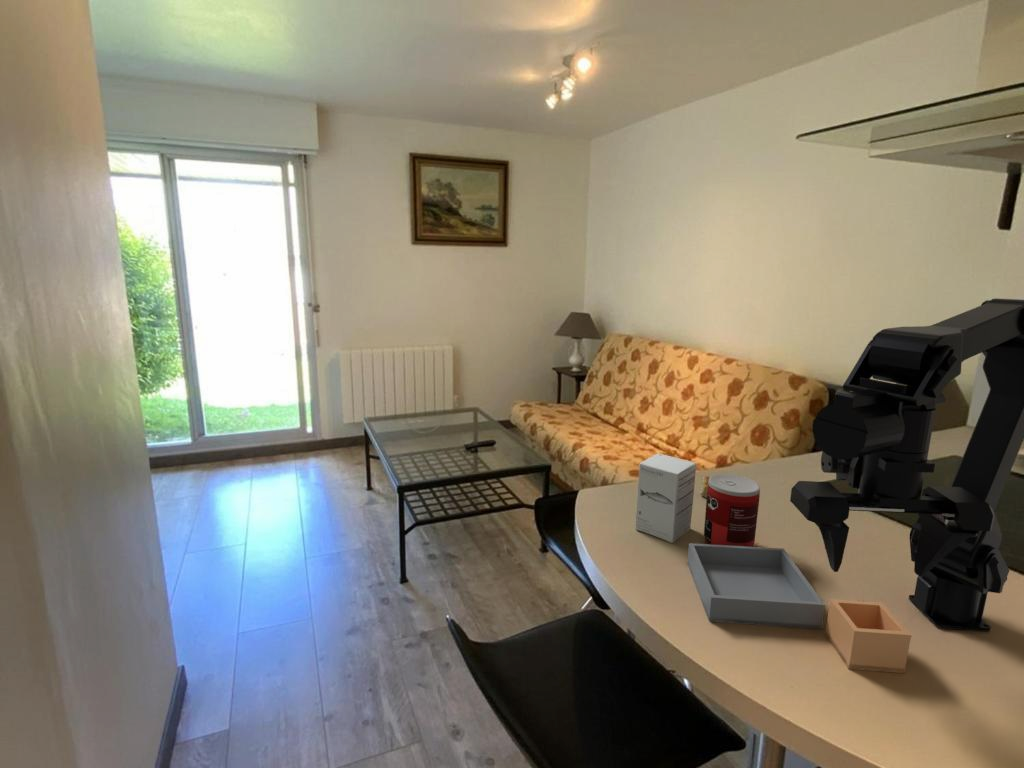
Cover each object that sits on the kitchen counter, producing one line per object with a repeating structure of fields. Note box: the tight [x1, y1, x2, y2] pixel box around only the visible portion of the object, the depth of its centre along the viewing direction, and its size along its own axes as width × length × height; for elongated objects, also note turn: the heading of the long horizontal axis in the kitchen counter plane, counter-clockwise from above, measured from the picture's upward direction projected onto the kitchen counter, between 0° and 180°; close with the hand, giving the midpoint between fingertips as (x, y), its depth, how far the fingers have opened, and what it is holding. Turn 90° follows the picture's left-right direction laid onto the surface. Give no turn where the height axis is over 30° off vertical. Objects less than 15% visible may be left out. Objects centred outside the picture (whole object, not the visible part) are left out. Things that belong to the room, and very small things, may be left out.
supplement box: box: [634, 452, 698, 544], centre depth 94 cm, size 7×7×13 cm
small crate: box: [825, 598, 912, 674], centre depth 64 cm, size 6×6×5 cm
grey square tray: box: [687, 543, 826, 630], centre depth 76 cm, size 14×14×4 cm
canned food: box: [703, 473, 761, 547], centre depth 89 cm, size 8×8×11 cm
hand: (875, 572), depth 63 cm, fingers open, 9 cm apart
